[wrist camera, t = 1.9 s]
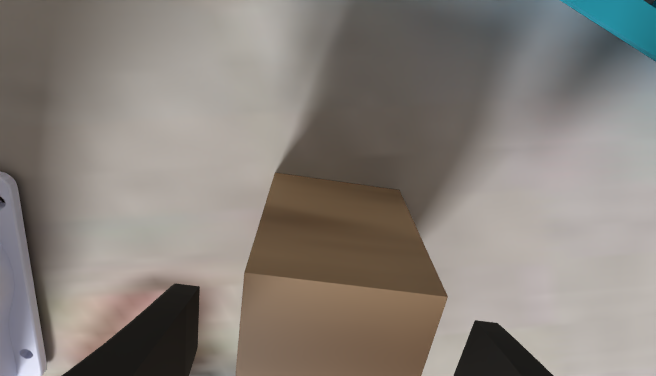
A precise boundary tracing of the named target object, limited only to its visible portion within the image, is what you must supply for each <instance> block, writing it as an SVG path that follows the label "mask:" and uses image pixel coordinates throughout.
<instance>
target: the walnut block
mask: <svg viewBox="0 0 656 376" xmlns="http://www.w3.org/2000/svg"><path fill="white" fill-rule="evenodd" d="M447 298H448V296H447V294H446V292H445V290H444V288H443V285H442V283H441V281H440V279H439V277H438V274H437V272H436V270H435V268H434V265H433V263H432V261H431V259H430V257H429V254H428V252H427V250H426V248H425V246H424V243H423V241H422V239H421V237H420V235H419V232H418V230H417V228H416V226H415V224H414V221H413V219H412V217H411V215H410V213H409V210H408V208H407V206H406V204H405V202H404V199H403V197H402V195H401V193H400V191H399V190H395V189H388V188H381V187H374V186H367V185H360V184H353V183H346V182H338V181H331V180H324V179H317V178H310V177H303V176H296V175H289V174H281V173H275V174H274V178H273V181H272V184H271V187H270V191H269V194H268V197H267V201H266V204H265V207H264V210H263V214H262V217H261V220H260V224H259V227H258V230H257V233H256V237H255V240H254V243H253V246H252V250H251V253H250V256H249V260H248V263H247V266H246V269H245V273H244V284H243V296H242V307H241V319H240V330H239V341H238V353H237V364H236V376H421V374H422V371H423V369H424V366H425V363H426V360H427V357H428V354H429V351H430V348H431V345H432V342H433V339H434V336H435V333H436V330H437V327H438V324H439V321H440V318H441V315H442V313H443V310H444V307H445V304H446V301H447Z"/></svg>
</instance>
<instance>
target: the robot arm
mask: <svg viewBox="0 0 656 376" xmlns="http://www.w3.org/2000/svg"><path fill="white" fill-rule="evenodd" d="M0 196H1V197H2V198H3V199H4V201H5V203H3V202H2V201H1V200H0V376H42V375H43V374H44V372H45V371H46V370H47V362H46V356H45V350H44V344H43V337H42V331H41V325H40V319H39V313H38V307H37V301H36V295H35V289H34V283H33V277H32V271H31V265H30V259H29V252H28V246H27V240H26V234H25V228H24V222H23V216H22V210H21V204H20V198H19V192H18V186H17V184H16V181H15V180H14V179H13V178H12V177H11V176H10V175H8V174H7V173H4V172H1V171H0ZM199 289H200V287H199V286H191V285H183V284H174V285H172V286H171V287H170V288H169V289H168V290H166V291H165V292H164V293H163V294H162V295H161V296H160V297H159V298H157V299H156V300H155V301H154V302H153V303H152V304H151V305H150V306H148V307H147V308H146V309H145V310H144V311H143V312H142V313H140V314H139V315H138V316H137V317H136V318H135V319H134V320H132V321H131V322H130V323H129V324H128V325H126V326H125V327H124V328H123V329H121V330H120V331H119V332H118V333H117V334H115V335H114V336H113V337H112V338H111V339H109V340H108V341H107V342H106V343H104V344H103V345H102V346H101V347H99V348H98V349H97V350H95V351H94V352H93V353H91V354H90V355H89V356H87V357H86V358H85V359H84V360H82V361H81V362H80V363H78V364H77V365H76V366H74V367H73V368H72V369H70V370H69V371H68V372H66V373H65V374H63V375H62V376H189V373H190V370H191V367H192V364H193V361H194V357H195V354H196V351H197V345H198V317H199ZM454 376H553V375H552V374H551V373H550V372H549V371H548V370H547V369H546V368H545V367H544V366H543V365H542V364H541V363H540V362H539V361H538V360H537V359H536V358H534V357H533V356H532V355H531V354H530V353H529V352H528V351H527V350H526V349H525V348H524V347H523V346H522V345H521V344H520V343H519V342H518V341H517V340H516V339H515V338H513V337H512V336H511V335H510V334H509V333H508V332H507V331H506V330H505V329H504V328H502V327H501V326H500V325H499V324H498V323H493V322H484V321H476V320H475V322H474V324H473V327H472V329H471V332H470V335H469V337H468V340H467V342H466V345H465V347H464V350H463V353H462V355H461V358H460V360H459V363H458V366H457V368H456V371H455V373H454Z"/></svg>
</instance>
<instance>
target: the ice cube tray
mask: <svg viewBox="0 0 656 376" xmlns="http://www.w3.org/2000/svg"><path fill="white" fill-rule="evenodd" d="M560 1H562V2H563V3H565V4H567V5H568V6H570V7H571V8H573V9H574V10H576V11H578V12H579V13H581V14H582V15H584V16H585V17H587V18H588V19H590V20H592V21H593V22H595V23H596V24H598V25H599V26H601V27H603V28H604V29H606V30H607V31H609V32H610V33H612V34H614V35H615V36H617V37H618V38H620V39H621V40H623V41H624V42H626V43H628V44H629V45H631V46H632V47H634V48H635V49H637V50H639V51H640V52H642V53H643V54H645V55H646V56H648V57H650V58H651V59H653V60H654V61H656V0H655V1H654V3H653V4H652V5H650V4H648V3H647V2H645V1H644V0H560Z"/></svg>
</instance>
